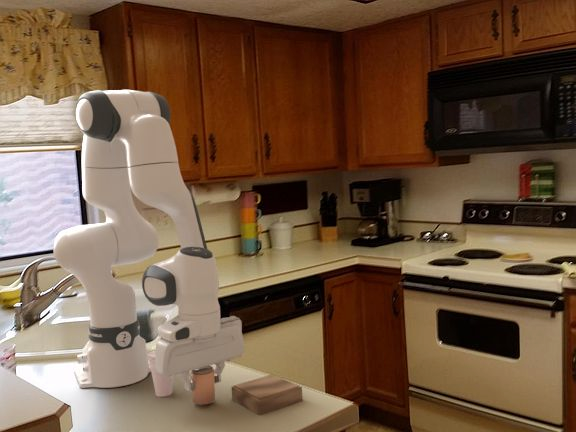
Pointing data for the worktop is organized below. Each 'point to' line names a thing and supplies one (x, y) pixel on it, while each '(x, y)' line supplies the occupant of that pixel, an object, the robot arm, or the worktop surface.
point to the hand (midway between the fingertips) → (203, 385)
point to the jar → (203, 385)
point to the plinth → (266, 394)
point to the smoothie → (159, 378)
